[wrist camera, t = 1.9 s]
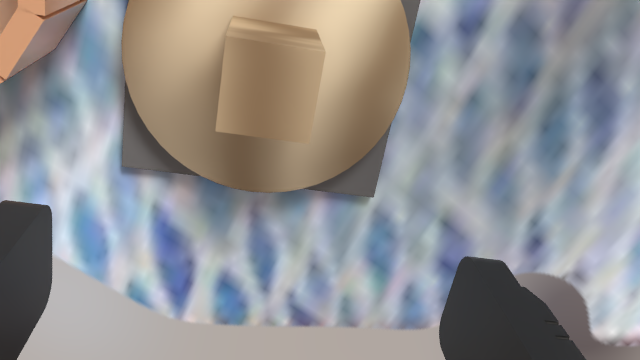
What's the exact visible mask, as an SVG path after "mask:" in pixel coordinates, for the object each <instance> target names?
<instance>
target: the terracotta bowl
mask: <svg viewBox="0 0 640 360" xmlns="http://www.w3.org/2000/svg"><path fill="white" fill-rule="evenodd" d="M86 2H87V0H0V83H2V82H4V81H6V80H7V79H9V78H10V77H12V76H14V75H15V74H17V73H18V72H20V71H21V70H23V69H25V68H26V67H28V66H29V65H31V64H33V63H34V62H36V61H37V60H39V59H40V58H42V57H44V56H45V55H47V54H48V53H50V52H52V50H54V49H55V48H56V47H57V45H58V44H59V42H60V41H61V39H62V38H63V36H64V35H65V33H66V32H67V30H68V29H69V27H70V26H71V24H72V23H73V21H74V20H75V18H76V17H77V15H78V14H79V12H80V11H81V9H82V8H83V6H84V5H85V3H86Z"/></svg>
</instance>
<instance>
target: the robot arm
mask: <svg viewBox="0 0 640 360" xmlns="http://www.w3.org/2000/svg"><path fill="white" fill-rule="evenodd" d="M51 284H52V212H51V209H50V207H49V206H48V205H41V204H32V203H24V202H16V201H7V200H5V201H2V202H1V203H0V360H17V358H18V356H19V354H20V353H21V351H22V349H23V347H24V345H25V344H26V342H27V340H28V338H29V336H30V335H31V333H32V331H33V329H34V328H35V326H36V324H37V322H38V321H39V319H40V317H41V315H42V313H43V311H44V309H45V307H46V305H47V302H48V298H49V295H50V290H51ZM439 338H440V345H441V348H442V351H443V354H444V356H445V359H446V360H586V359H585V358H584V356H583V355H582V353H581V352H580V351H579V349H578V348H577V347H576V345H575V344H574V342H573V341H571V340H569V335H568V334H567V333H566V331H565V330H564V329H563V327H562V326H561V325H558V320H557V319H556V317H555V316H554V315H553V313H552V312H551V310H550V309H549V308H548V306H547V305H546V304H545V303H544V302H543V301H542V300H540V299H539V298H538V297H537V296H535V295H534V294H533V293H532V292H530V291H529V290H528V289H527V288H525V287H521V286H520V284H519V283H518V281H517V280H516V279H515V277H514V276H513V274H512V273H511V271H510V270H509V268H508V267H507V266H506V264H505V263H504V262H503V261H500V260H493V259H485V258H476V257H468V256H467V257H464V258H463V259H462V260H461V262H460V263H459V266H458V268H457V271H456V274H455V277H454V280H453V283H452V286H451V289H450V292H449V295H448V298H447V302H446V305H445V308H444V311H443V314H442V317H441V321H440V328H439Z"/></svg>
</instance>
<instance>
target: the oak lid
mask: <svg viewBox="0 0 640 360" xmlns="http://www.w3.org/2000/svg"><path fill="white" fill-rule="evenodd" d="M122 62H123V68H124V74H125V80H126V83H127V86H128V89H129V93H130V96H131V99H132V101H133V103H134V105H135V107H136V110H137V112H138V114H139V116H140V117H141V119H142V121H143V122H144V124H145V125H146V127H147V129H148V130H149V131H150V133H151V134H152V135H153V136H154V138H155V139H156V140H157V141H158V143H159V144H160V145H161V146H162V147H163V148H164V149H165V150H166V151H167V152H168V153H169V154H170V155H171V156H172V157H174V158H175V159H176V160H178V161H179V162H180V163H181V164H183V165H184V166H185V167H187V168H188V169H190V170H192V171H194V172H195V173H197V174H199V175H200V176H202V177H204V178H207V179H209V180H211V181H213V182H216V183H218V184H221V185H225V186H228V187H231V188H234V189H240V190H245V191H251V192H266V193H271V192H287V191H292V190H298V189H303V188H306V187H310V186H313V185H316V184H319V183H322V182H324V181H326V180H328V179H331V178H333V177H335V176H337V175H338V174H340V173H342V172H343V171H345V170H347V169H349V168H350V167H351V166H352V165H354V164H355V163H356V162H358V161H359V160H360V159H362V158H363V157H364V156H365V155H366V154H367V153H368V152H369V151H370V150H371V149H372V148H373V147H374V146H375V145H376V143H377V142H378V141H379V140H380V138H381V137H382V136H383V135H384V134H385V132H386V130H387V129H388V127H389V126H390V124H391V122H392V121H393V119H394V117H395V115H396V113H397V111H398V108H399V106H400V104H401V102H402V98H403V95H404V92H405V89H406V85H407V80H408V74H409V68H410V37H409V28H408V24H407V19H406V15H405V11H404V8H403V5H402V3H401V0H129V2H128V6H127V10H126V14H125V18H124V23H123V33H122Z"/></svg>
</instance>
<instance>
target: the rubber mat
mask: <svg viewBox="0 0 640 360" xmlns="http://www.w3.org/2000/svg"><path fill="white" fill-rule="evenodd" d="M401 3H402V5H403V8H404V11H405V15H406V19H407V24H408V28H409V37H410V42H411V38H412V33H413V29H414V25H415V21H416V17H417V12H418V8H419V4H420V0H401ZM390 126H391V124H390ZM390 126H389V127H388V129H387V130H386V132H385V134H384V135H383V136H382V137H381V138H380V140H379V141H378V142H377V143H376V145H375V146H374V147H373V148H372V149H371V150H370V151H369V152H368V153H367V154H366V155H365V156H364V157H363V158H362V159H360V160H359V161H358V162H356V163H355V164H354V165H352V166H351V167H350V168H349V169H347V170H345V171H343V172H342V173H340V174H338V175H337V176H335V177H333V178H331V179H328V180H326V181H324V182H322V183H319V184H316V185H313V186H310V187H306V188H303V189H309V190H317V191H325V192H334V193H342V194H350V195H358V196H366V197H374V194H375V189H376V185H377V181H378V177H379V173H380V168H381V164H382V160H383V156H384V151H385V147H386V143H387V139H388V135H389V130H390ZM122 166H123V167H131V168H140V169H148V170H156V171H164V172H172V173H180V174H188V175H196V176H200V175H199V174H197V173H195V172H194V171H192V170H190V169H188V168H187V167H185V166H184V165H183V164H181V163H180V162H179V161H178V160H176V159H175V158H174V157H172V156H171V155H170V154H169V153H168V152H167V151H166V150H165V149H164V148H163V147H162V146H161V145H160V144H159V143H158V141H157V140H156V139H155V138H154V136H153V135H152V134H151V133H150V131H149V130H148V129H147V127H146V125H145V124H144V122H143V121H142V119H141V117H140V116H139V114H138V112H137V110H136V107H135V105H134V103H133V101H132V99H131V96H130V93H129V89H128V86H127V83H126V80H125V103H124V128H123V153H122Z"/></svg>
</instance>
